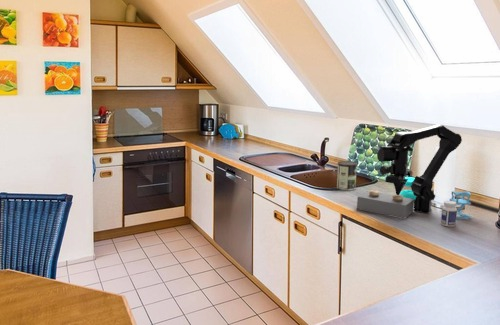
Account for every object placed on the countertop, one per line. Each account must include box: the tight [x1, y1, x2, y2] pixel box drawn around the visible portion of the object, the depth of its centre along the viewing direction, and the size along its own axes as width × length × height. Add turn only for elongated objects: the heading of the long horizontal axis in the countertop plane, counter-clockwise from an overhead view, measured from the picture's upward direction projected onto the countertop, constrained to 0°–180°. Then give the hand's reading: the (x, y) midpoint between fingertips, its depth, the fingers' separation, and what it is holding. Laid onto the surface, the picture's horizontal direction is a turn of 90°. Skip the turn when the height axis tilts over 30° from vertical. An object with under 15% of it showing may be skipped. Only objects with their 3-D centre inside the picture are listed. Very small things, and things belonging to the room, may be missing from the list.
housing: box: [356, 190, 414, 219], centre depth 199 cm, size 22×12×6 cm, turn 53°
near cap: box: [392, 193, 403, 201], centre depth 196 cm, size 4×4×7 cm
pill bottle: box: [440, 200, 458, 228], centre depth 181 cm, size 6×6×10 cm
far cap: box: [368, 189, 380, 197], centre depth 202 cm, size 4×4×7 cm
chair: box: [449, 190, 472, 220], centre depth 192 cm, size 8×8×12 cm
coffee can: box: [336, 160, 358, 191], centre depth 237 cm, size 10×10×14 cm
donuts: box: [399, 176, 417, 200], centre depth 219 cm, size 10×10×10 cm
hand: (397, 194), depth 195 cm, fingers closed
